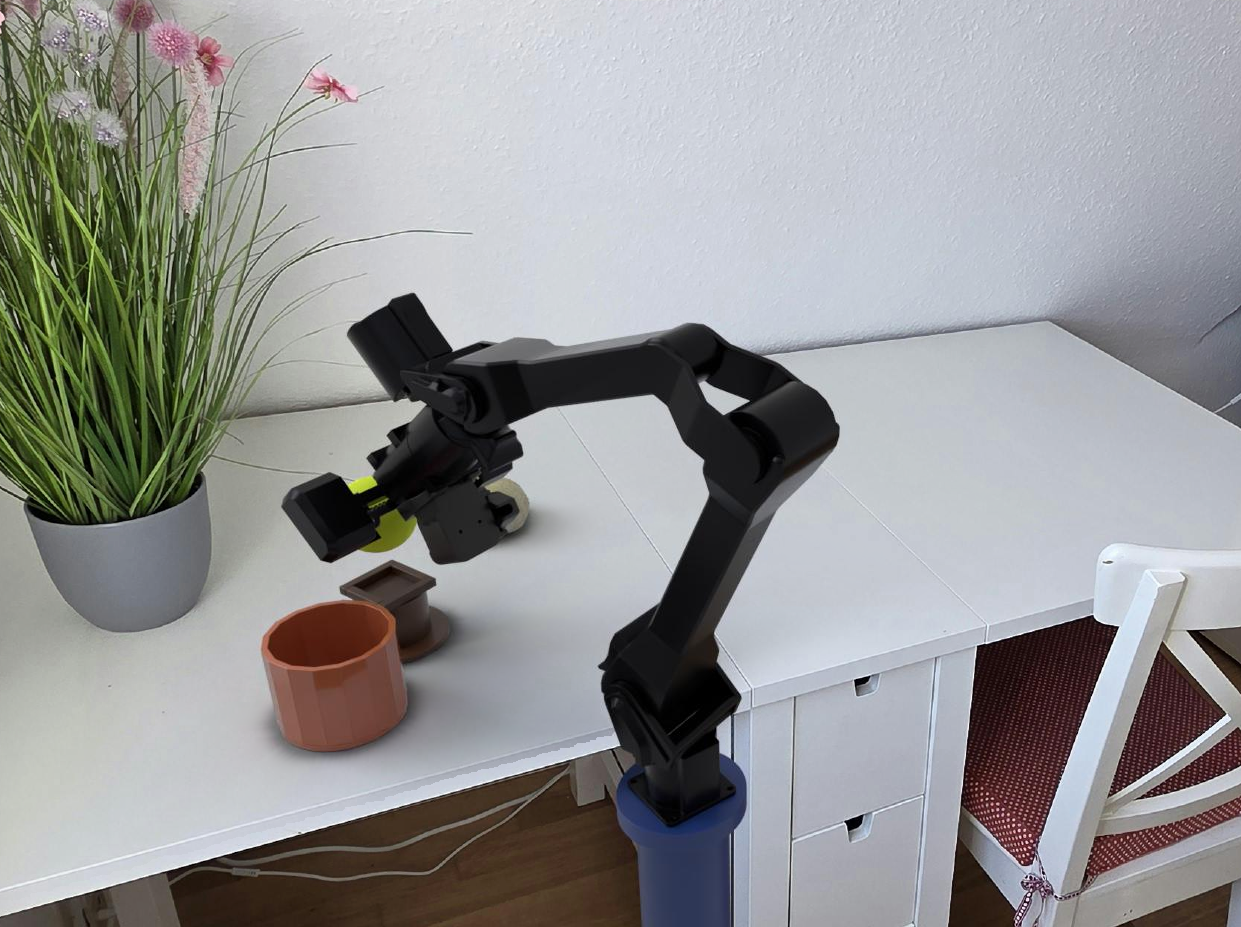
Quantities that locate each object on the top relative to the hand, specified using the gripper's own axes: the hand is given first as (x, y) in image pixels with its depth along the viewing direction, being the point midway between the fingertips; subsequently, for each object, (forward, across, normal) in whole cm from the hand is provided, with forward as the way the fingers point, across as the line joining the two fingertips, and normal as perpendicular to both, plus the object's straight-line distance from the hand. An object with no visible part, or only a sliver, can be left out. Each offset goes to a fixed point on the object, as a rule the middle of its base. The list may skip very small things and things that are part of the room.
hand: (366, 522), depth 106 cm
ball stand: (+7, 0, -9) cm, 11 cm away
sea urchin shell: (+13, +19, -3) cm, 23 cm away
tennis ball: (-2, 0, 0) cm, 2 cm away
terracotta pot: (+3, -10, -13) cm, 16 cm away
